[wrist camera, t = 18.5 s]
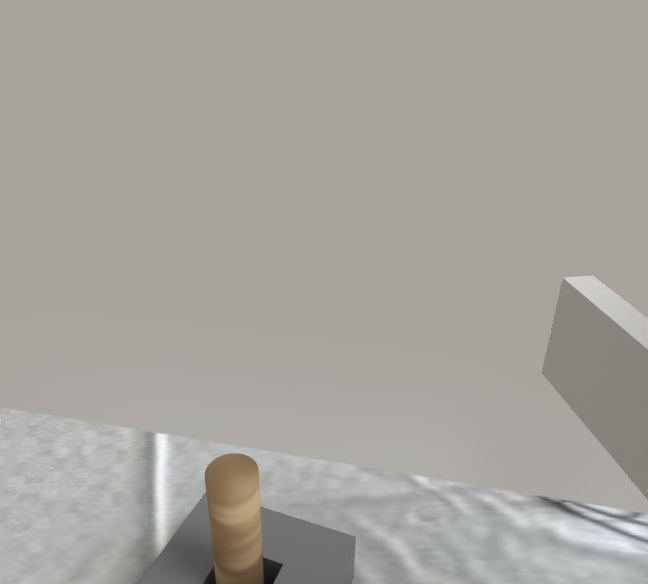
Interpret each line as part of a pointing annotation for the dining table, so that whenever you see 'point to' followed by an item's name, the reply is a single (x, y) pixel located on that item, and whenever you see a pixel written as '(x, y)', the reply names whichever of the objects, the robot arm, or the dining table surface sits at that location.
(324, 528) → the socket block
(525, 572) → the dining table surface
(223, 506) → the oak dowel
